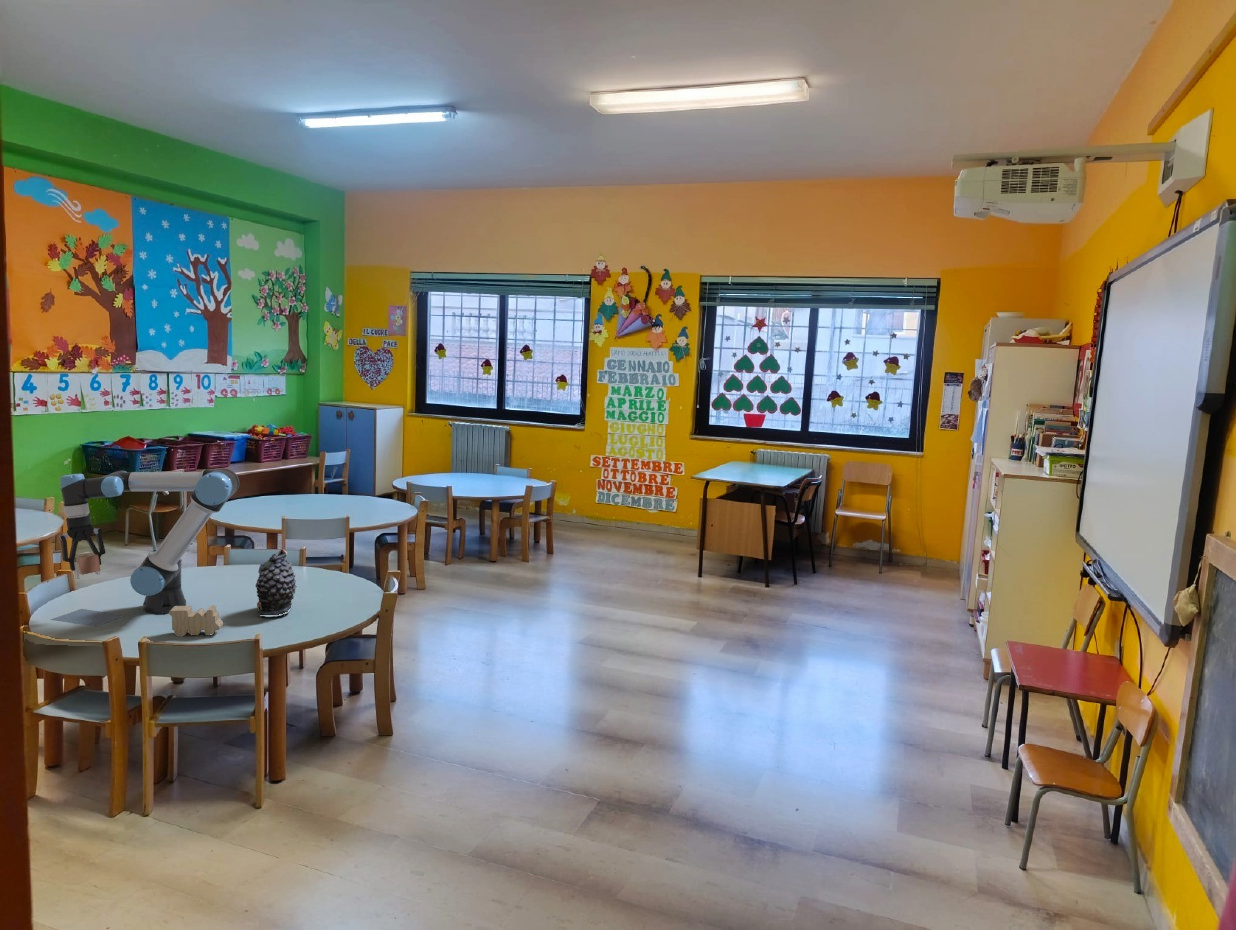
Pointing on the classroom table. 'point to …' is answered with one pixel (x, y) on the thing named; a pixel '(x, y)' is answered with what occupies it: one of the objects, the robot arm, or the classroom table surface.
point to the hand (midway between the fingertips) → (87, 576)
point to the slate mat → (88, 617)
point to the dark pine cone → (275, 585)
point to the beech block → (87, 563)
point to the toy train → (195, 620)
